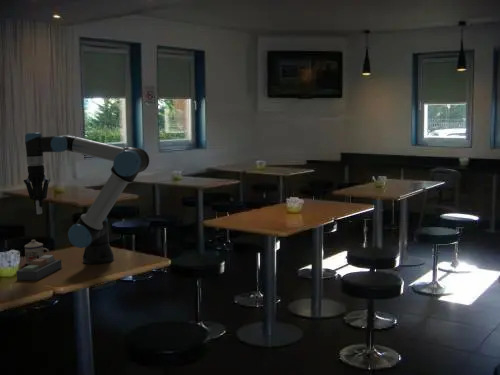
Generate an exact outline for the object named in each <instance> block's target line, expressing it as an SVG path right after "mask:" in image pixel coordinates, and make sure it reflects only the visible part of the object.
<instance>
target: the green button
mask: <svg viewBox="0 0 500 375" xmlns="http://www.w3.org/2000/svg"><path fill="white" fill-rule="evenodd" d="M22 269H24V271H35V270H37V269H39V265H29V264H28V265H27V266H24V267H23V268H22Z"/></svg>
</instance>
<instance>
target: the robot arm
mask: <svg viewBox="0 0 500 375" xmlns="http://www.w3.org/2000/svg"><path fill="white" fill-rule="evenodd" d="M24 144H25V152H26V154H25V155H26V163H27V164H26V165H27V174H28V175H27V178H26V179H24V180H23V183H24V185H25V187H26V190H27V193H28V196H29V199H30V200H33V203H34V204H33V205H34V207H35V209H36V215H42V214H43V207H44V200H46V199H47V197H48V196H47V195H48V190H49V184H50V182H51V179H50V178H47V177H46V175H45V166H44V163H45V161H44V153H63V152H65V151H68V152H70V153H71V152H72V153H77V154H81V155H85V156H89V157H94V158H98V159H101V160H106V161H111V162H113V166H112V167H111V168H110V171H111V173H110V175H109V177H108V179H107V181H106V182H105V184H104V186H103V187H102V188H101V190H100V191H99V193H98V195H97V196H96V198H95V200H94V201H93V203H92V204H91V206H90V207H89V209H88V210H87V212H86V213H82V214H81V215H80V217H79V218H78V220H77V222H76V223H75V224H72V226H71V227H69V230H68V232H67V236H68V241H69V242H70V243H71V245H72V246H74V247H76V248H79V249H84V251H83V255H82V263H84V264H87V265H89V264H90V265H98V264H106V263H109V262H112V261H114V258H115V256H114V252H113V250H112V247H111V245H110V236H109V221H108V220H109V219H108V215H109V213H110V212H111V210H112V208H113V207H114V205H115V204H116V202H117V201H118V200H119V198H120V196H121V195H122V193H123V191H124V190H125V188H126V187H127V186H128V184H132V183H133V182H134V181H135V179H136V178H137V176H138V174H139V173H142V172H144V171H146V169H147V168H148V167H149V164H150V156H149V154H148V152H146V150H145V149H142V148H138V147H132V146H127V145H126V146H125V147H123V146H118V145H113V144H110V143H109V144H108V143H104V142H100V141H97V140H96V141H94V140H90V139H88V138H87V139H86V138H82V137H78V136H74V135H73V134H68V133H67V134H61V135H52V136H50V135H49V136H42V133H41V132H26V133H25V135H24Z"/></svg>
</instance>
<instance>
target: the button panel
mask: <svg viewBox="0 0 500 375" xmlns="http://www.w3.org/2000/svg"><path fill="white" fill-rule="evenodd" d="M31 265H32V264H31ZM60 269H62V259H54V262H51V263H47V265H45V266H43V267H39V269H37V270H35V271H24V269H23V268H21V269H18V270H17V271H16V279H17V281H38V280H41V279H42V278H44V277H47V276H49V275H50V274H53V273H54V272H56V271H58V270H60Z"/></svg>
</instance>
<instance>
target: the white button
mask: <svg viewBox="0 0 500 375" xmlns="http://www.w3.org/2000/svg"><path fill="white" fill-rule="evenodd" d="M40 259H46V260H47V263H51V262H54V260H55V254H54V255H53V254H49V255H47V254H44V256H42V257H40Z"/></svg>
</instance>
